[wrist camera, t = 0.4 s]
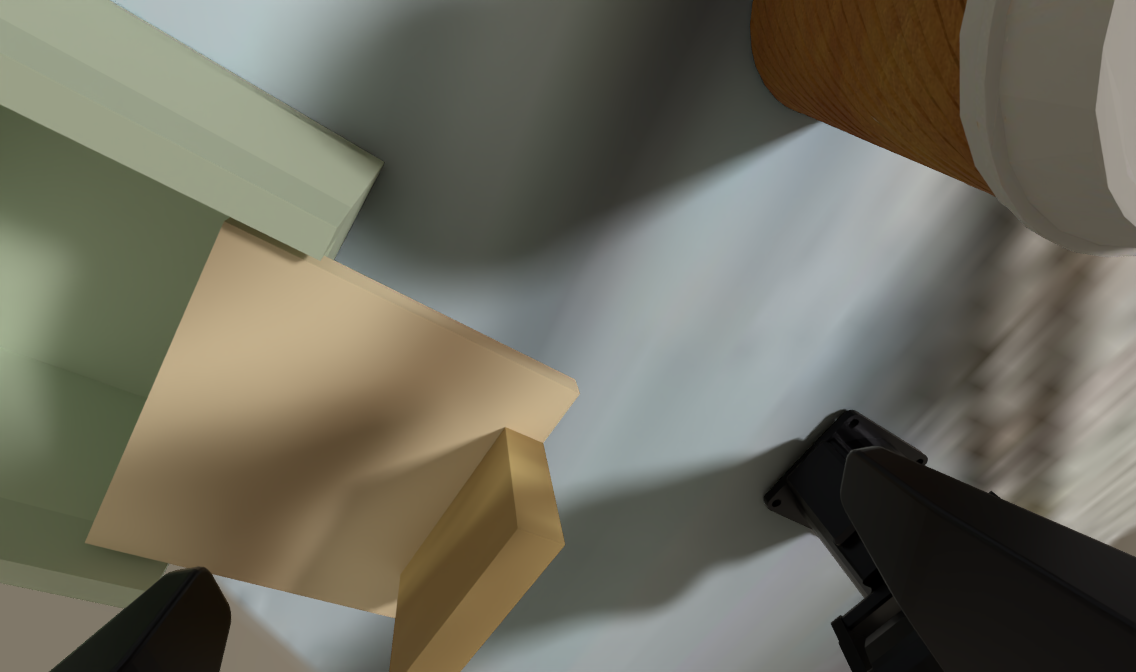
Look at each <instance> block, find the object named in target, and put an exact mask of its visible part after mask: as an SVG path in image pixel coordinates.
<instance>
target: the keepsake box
mask: <svg viewBox="0 0 1136 672" xmlns="http://www.w3.org/2000/svg"><path fill="white" fill-rule="evenodd" d="M384 163H385V162H383V161H382V160H380V159H378V158H377V157H375V156H373V155H372V154H370V153H368V152H366V151H365V150H363V149H361V148H360V147H358V146H356V145H355V144H353V143H351V142H349V141H348V140H346V139H344V138H343V137H341V136H339V135H338V134H336V133H334V132H332V131H331V130H329V129H327V128H326V127H324V126H322V125H321V124H319V123H317V122H315V121H314V120H312V119H310V118H309V117H307V116H305V115H304V114H302V113H300V112H298V111H297V110H295V109H293V108H292V107H290V106H288V105H287V104H285V103H283V102H282V101H280V100H278V99H276V98H275V97H273V96H271V95H270V94H268V93H266V92H265V91H263V90H261V89H259V88H258V87H256V86H254V85H253V84H251V83H249V82H248V81H246V80H244V79H242V78H241V77H239V76H237V75H236V74H234V73H232V72H231V71H229V70H227V69H225V68H224V67H222V66H220V65H219V64H217V63H215V62H214V61H212V60H210V59H208V58H207V57H205V56H203V55H202V54H200V53H198V52H197V51H195V50H193V49H191V48H190V47H188V46H186V45H185V44H183V43H181V42H180V41H178V40H176V39H174V38H173V37H171V36H169V35H168V34H166V33H164V32H163V31H161V30H159V29H157V28H156V27H154V26H152V25H151V24H149V23H147V22H146V21H144V20H142V19H141V18H139V17H137V16H135V15H134V14H132V13H130V12H129V11H127V10H125V9H124V8H122V7H120V6H118V5H117V4H115V3H113V2H112V1H110V0H0V583H3V584H8V585H13V586H17V587H22V588H27V589H32V590H37V591H42V592H47V593H51V594H57V595H62V596H66V597H71V598H76V599H81V600H86V601H90V602H95V603H100V604H105V605H110V606H114V607H119V608H126V607H127V606H128V605H129V604H130V603H132V602H133V601H134V600H135V599H136V598H138V597H139V596H140V595H141V594H142V593H144V592H145V591H146V590H147V589H148V588H150V587H151V586H152V585H153V584H154V583H155V582H157V581H158V580H159V579H160V578H162V576H163V574H164V572H165V571H166V569H167V567H168V565H169V563H165V562H161V561H157V560H153V559H148V558H144V557H140V556H136V555H132V554H128V553H124V552H120V551H115V550H111V549H107V548H103V547H99V546H95V545H91V544H86V543H85V541H86V538H87V536H88V534H89V532H90V529H91V527H92V525H93V522H94V520H95V518H96V515H97V513H98V511H99V508H100V506H101V504H102V502H103V499H104V497H105V495H106V492H107V490H108V488H109V485H110V483H111V481H112V478H113V476H114V474H115V472H116V469H117V467H118V465H119V462H120V460H121V458H122V455H123V453H124V451H125V448H126V446H127V444H128V442H129V439H130V437H131V435H132V432H133V430H134V428H135V425H136V423H137V421H138V418H139V416H140V414H141V412H142V409H143V407H144V405H145V402H146V400H147V398H148V395H149V393H150V391H151V389H152V386H153V384H154V382H155V379H156V377H157V375H158V372H159V370H160V368H161V365H162V363H163V361H164V359H165V356H166V354H167V352H168V349H169V347H170V345H171V342H172V340H173V338H174V335H175V333H176V331H177V329H178V326H179V324H180V322H181V319H182V317H183V315H184V312H185V310H186V308H187V305H188V303H189V301H190V299H191V296H192V294H193V292H194V289H195V287H196V285H197V282H198V280H199V278H200V275H201V273H202V271H203V269H204V266H205V264H206V262H207V259H208V257H209V255H210V252H211V250H212V248H213V245H214V243H215V241H216V239H217V236H218V234H219V232H220V229H221V227H222V225H223V222H224V221H225V220H226V219H228V218H229V217H231V218H233V219H235V220H238V221H240V222H242V223H244V224H246V225H248V226H250V227H252V228H254V229H256V230H258V231H260V232H262V233H264V234H266V235H268V236H270V237H272V238H274V239H276V240H278V241H280V242H283V243H285V244H287V245H289V246H291V247H293V248H295V249H297V250H299V251H301V252H303V253H305V254H307V255H309V256H311V257H313V258H315V259H317V260H319V261H321V259H322V258H323V256H326V257H328V258H330V259H332V260H334V259H335V257H336V255H337V253H338V251H339V249H340V248H341V246H342V244H343V242H344V240H345V238H346V236H347V234H348V232H349V230H350V228H351V226H352V224H353V222H354V220H355V219H356V217H357V215H358V213H359V211H360V209H361V207H362V205H363V203H364V201H365V199H366V197H367V195H368V193H369V192H370V190H371V188H372V186H373V184H374V182H375V180H376V178H377V176H378V174H379V172H380V170H381V168H382V166H383V164H384Z"/></svg>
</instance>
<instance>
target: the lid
mask: <svg viewBox="0 0 1136 672" xmlns="http://www.w3.org/2000/svg"><path fill="white" fill-rule="evenodd" d="M579 394H580V392H579V389H578V386H577V384H576V381H575V379H573V378H571V377H569V376H567V375H565V374H563V373H561V372H559V371H557V370H555V369H553V368H551V367H549V366H547V365H544V364H542V363H540V362H538V361H536V360H534V359H532V358H530V357H528V356H526V355H524V354H522V353H520V352H518V351H516V350H514V349H512V348H510V347H508V346H506V345H504V344H502V343H500V342H498V341H496V340H494V339H492V338H490V337H488V336H486V335H484V334H482V333H480V332H478V331H476V330H474V329H472V328H470V327H468V326H466V325H464V324H462V323H460V322H458V321H455V320H453V319H451V318H449V317H447V316H445V315H443V314H441V313H439V312H437V311H435V310H433V309H431V308H429V307H427V306H425V305H423V304H421V303H419V302H417V301H415V300H413V299H411V298H409V297H407V296H405V295H403V294H401V293H399V292H397V291H395V290H393V289H391V288H389V287H387V286H385V285H383V284H381V283H379V282H377V281H375V280H373V279H371V278H369V277H366V276H364V275H362V274H360V273H358V272H356V271H354V270H352V269H350V268H348V267H346V266H344V265H342V264H340V263H338V262H336V261H334V260H332V259H330V258H328V257H326V256H323V258H322V259H321V261H319V260H317V259H315V258H313V257H311V256H309V255H307V254H305V253H303V252H301V251H299V250H297V249H295V248H293V247H291V246H289V245H287V244H285V243H283V242H280V241H278V240H276V239H274V238H272V237H270V236H268V235H266V234H264V233H262V232H260V231H258V230H256V229H254V228H252V227H250V226H248V225H246V224H244V223H242V222H240V221H238V220H235V219H233V218H231V217H229V218H228V219H226V220H225V221H224V222H223V225H222V227H221V229H220V232H219V234H218V236H217V239H216V241H215V243H214V245H213V248H212V250H211V252H210V255H209V257H208V259H207V262H206V264H205V266H204V269H203V271H202V273H201V275H200V278H199V280H198V282H197V285H196V287H195V289H194V292H193V294H192V296H191V299H190V301H189V303H188V305H187V308H186V310H185V312H184V315H183V317H182V319H181V322H180V324H179V326H178V329H177V331H176V333H175V335H174V338H173V340H172V342H171V345H170V347H169V349H168V352H167V354H166V356H165V359H164V361H163V363H162V365H161V368H160V370H159V372H158V375H157V377H156V379H155V382H154V384H153V386H152V389H151V391H150V393H149V395H148V398H147V400H146V402H145V405H144V407H143V409H142V412H141V414H140V416H139V418H138V421H137V423H136V425H135V428H134V430H133V432H132V435H131V437H130V439H129V442H128V444H127V446H126V448H125V451H124V453H123V455H122V458H121V460H120V462H119V465H118V467H117V469H116V472H115V474H114V476H113V478H112V481H111V483H110V485H109V488H108V490H107V492H106V495H105V497H104V499H103V502H102V504H101V506H100V508H99V511H98V513H97V515H96V518H95V520H94V522H93V525H92V527H91V529H90V532H89V534H88V536H87V538H86V541H85V543H86V544H91V545H95V546H99V547H103V548H107V549H111V550H115V551H120V552H124V553H128V554H132V555H136V556H140V557H144V558H148V559H153V560H157V561H161V562H165V563H169V564H173V565H177V566H182V567H186V568H192V567H197V566H201V567H205V568H207V569H208V570H209V571H210V572H211V574H215V575H219V576H223V577H227V578H231V579H235V580H239V581H243V582H248V583H252V584H256V585H260V586H264V587H268V588H272V589H277V590H281V591H285V592H289V593H293V594H297V595H301V596H305V597H310V598H314V599H318V600H322V601H326V602H330V603H334V604H339V605H343V606H347V607H351V608H355V609H359V610H363V611H367V612H372V613H376V614H380V615H384V616H388V617H392V618H395V626H394V635H393V643H392V652H391V661H390V669H389V672H460V671H461V670H462V669H463V668H464V667H465V665H466V664H467V663H468V662H469V661H470V659H471V658H472V657H473V656H474V654H475V653H476V652H477V651H478V650H479V648H480V647H481V646H482V645H483V644H484V642H485V641H486V640H487V639H488V638H489V636H490V635H491V634H492V633H493V631H494V630H495V629H496V628H497V627H498V625H499V624H500V623H501V622H502V621H503V619H504V618H505V617H506V616H507V615H508V613H509V612H510V611H511V610H512V609H513V607H514V606H515V605H516V604H517V602H518V601H519V600H520V599H521V598H522V596H523V595H524V594H525V593H526V592H527V590H528V589H529V588H530V587H531V586H532V584H533V583H534V582H535V581H536V580H537V578H538V577H539V576H540V575H541V573H542V572H543V571H544V570H545V569H546V567H547V566H548V565H549V564H550V563H551V561H552V560H553V559H554V558H555V557H556V555H557V554H558V553H559V552H560V550H561V549H562V548H563V547H564V546H565V541H564V537H563V532H562V528H561V523H560V518H559V514H558V509H557V505H556V500H555V495H554V491H553V486H552V482H551V477H550V472H549V468H548V463H547V459H546V454H545V449H544V445H543V442H544V441H545V440H546V438H547V437H548V436H549V434H550V433H551V432H552V430H553V429H554V428H555V426H556V425H557V424H558V422H559V421H560V420H561V418H562V417H563V416H564V414H565V413H566V412H567V410H568V409H569V408H570V406H571V405H572V404H573V402H574V401H575V400H576V398H577V397H578V396H579Z"/></svg>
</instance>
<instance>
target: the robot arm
mask: <svg viewBox="0 0 1136 672" xmlns="http://www.w3.org/2000/svg"><path fill="white" fill-rule="evenodd" d="M927 461H928V458H927V456H926V455H924V454H923V453H922V452H921V451H920V450H918V449H916V448H915V447H913V446H912V445H910V444H908V443H907V442H905V441H904V440H902V439H900V438H899V437H897V436H896V435H894V434H892V433H891V432H889V431H888V430H886V429H884V428H883V427H881V426H879V425H878V424H876V423H875V422H873V421H871V420H870V419H868V418H867V417H865V416H863V415H862V414H860V413H859V412H857V411H855V410H849V411H846V412H845V413H844V414H842V415H841V416H840V417H839V418H838V419H837V421H836V422H835V423H834V424H833V425H832V426H831V427H830V428H829V429H828V430H827V431H826V432H825V433H824V434H823V435H822V436H821V437H820V438H819V439H818V440H817V442H816V443H815V444H814V445H813V446H812V447H811V448H810V449H809V450H808V451H807V452H806V453H805V454H804V455H803V456H802V457H801V458H800V459H799V460H798V461H797V463H796V464H795V465H794V466H793V467H792V468H791V469H790V470H789V471H788V472H787V473H786V474H785V475H784V476H783V477H782V478H781V479H780V480H779V481H778V482H777V484H776V485H775V486H774V487H773V488H772V489H771V490H770V491H769V492H768V493H767V494H766V495H765V497H764V503H765V505H766V506H767V508H768V509H769V510H771V511H773V512H776V513H778V514H780V515H782V516H784V517H786V518H789V519H791V520H793V521H795V522H797V523H800V524H802V525H804V526H806V527H808V528H810V529H813V530H814V532H815V533H816V534H817V536H818V537H819V538H820V540H821V541H822V542H823V544H824V545H825V546H826V548H827V549H828V550H829V552H830V553H831V554H832V556H833V557H834V558H835V560H836V561H837V562H838V564H839V565H840V566H841V568H842V569H843V570H844V572H845V573H846V574H847V576H848V577H849V578H850V580H851V581H852V582H853V584H854V585H855V586H856V588H857V589H858V590H859V592H860V593H861V594H862V596H863V597H864V599H863V600H862V601H861V602H859V603H858V604H857V605H856V606H855V607H853V608H852V609H851V610H850V611H848V612H847V613H846V614H845V615H844V616H841V615H840V616H838V617H837V618H836V619H835V620H834V621H832V622H831V625H832V627H833V630H834V632H835V634H836V636H837V638H838V640H839V645H840V647H841V650H842V652H843V654H844V656H845V658H846V660H847V662H848V664H849V666H850V668H851V670H852V672H1136V557H1135V556H1132V555H1130V554H1128V553H1125V552H1123V551H1121V550H1118V549H1116V548H1114V547H1112V546H1109V545H1107V544H1105V543H1102V542H1100V541H1098V540H1095V539H1093V538H1091V537H1088V536H1086V535H1084V534H1082V533H1079V532H1077V531H1075V530H1072V529H1070V528H1068V527H1065V526H1063V525H1061V524H1058V523H1056V522H1054V521H1052V520H1049V519H1047V518H1045V517H1042V516H1040V515H1038V514H1035V513H1033V512H1031V511H1028V510H1026V509H1024V508H1022V507H1019V506H1017V505H1015V504H1012V503H1010V502H1008V501H1005V500H1003V499H1001V498H1000V497H998V496H997V495H996V494H995V493H993V492H992V491H990V492H989V493H987V492H985V491H982V490H980V489H978V488H975V487H973V486H971V485H968V484H966V483H964V482H961V481H959V480H957V479H955V478H952V477H950V476H948V475H945V474H943V473H941V472H938V471H936V470H934V469H931V468H929V467H927V466H925V464H926V463H927ZM230 624H231V611H230V607H229V604H228V602H227V600H226V599H225V597H224V595H223V593H222V591H221V590H220V588H219V586H218V584H217V583H216V581H215V579H214V577H213V575H212V574H211V572H210V571H209V570H208V569H207V568H205V567H201V566H197V567H192V568H186V569H180V570H175V571H172V572H169V573H168V574H166V575H164V576H163V577H162V578H160V579H159V580H158V581H157V582H155V583H154V584H153V585H152V586H151V587H150V588H148V589H147V590H146V591H145V592H144V593H142V594H141V595H140V596H139V597H138V598H136V599H135V600H134V601H133V602H132V603H130V604H129V605H128V606H127V607H126V608H124V609H123V610H122V611H121V612H120V613H119V614H117V615H116V616H115V617H114V618H113V619H111V620H110V621H109V622H108V623H107V624H105V625H104V626H103V627H102V628H101V629H99V630H98V631H97V632H96V633H95V634H94V635H92V636H91V637H90V638H89V639H88V640H86V641H85V642H84V643H83V644H82V645H81V646H79V647H78V648H77V649H76V650H75V651H73V652H72V653H71V654H70V655H68V656H67V657H66V658H65V659H64V660H63V661H61V662H60V663H59V664H58V665H57V666H55V667H54V668H53V669H52V670H51V671H50V672H219V671H220V667H221V663H222V659H223V654H224V650H225V646H226V642H227V637H228V633H229V629H230Z"/></svg>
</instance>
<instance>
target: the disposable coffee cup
mask: <svg viewBox="0 0 1136 672" xmlns="http://www.w3.org/2000/svg"><path fill="white" fill-rule="evenodd" d="M750 31H751V45H752V53H753V57H754V61H755V66H756V68H757V70H758V72H759V74H760V76H761V78H762V80H763V82H764V84H765V86H766V87H767V88H768V90H769V91H770V92H771V93H772V95H773V96H774V97H775V98H776V99H777V100H778V101H780V102H781V103H782V104H783V105H784V106H786V107H788V108H790V109H792V110H794V111H796V112H799V113H802V114H805V115H807V116H809V117H812V118H814V119H816V120H819V121H821V122H824V123H826V124H828V125H831V126H833V127H835V128H838V129H840V130H842V131H845V132H847V133H849V134H852V135H854V136H856V137H859V138H861V139H863V140H866V141H868V142H870V143H872V144H875V145H877V146H879V147H882V148H885V149H887V150H889V151H891V152H894V153H896V154H899V155H901V156H903V157H906V158H908V159H910V160H913V161H915V162H918V163H920V164H922V165H925V166H927V167H929V168H932V169H934V170H936V171H939V172H941V173H943V174H946V175H948V176H950V177H953V178H955V179H957V180H960V181H962V182H964V183H966V184H968V185H970V186H973V187H975V188H977V189H980V190H982V191H985V192H987V193H989V194H991V195H993V196H995V197H997V199H998V200H999V202H1000V203H1001V204H1003V205H1005V206H1006V207H1008V208H1009V209H1010V210H1011V211H1012V213H1013V214H1014V215H1015V216H1016V217H1017V218H1018V219H1019V220H1020V221H1021V222H1022V223H1023V224H1024V225H1025V227H1026V228H1028V229H1030V230H1031V231H1033V232H1035V233H1036V234H1038V235H1040V236H1041V237H1043V238H1045V239H1047V240H1049V241H1051V242H1053V243H1055V244H1057V245H1059V246H1061V247H1063V248H1065V249H1068V250H1071V251H1073V252H1076V253H1082V254H1088V255H1095V256H1101V257H1122V256H1136V0H753V3H752V12H751V21H750Z"/></svg>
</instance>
